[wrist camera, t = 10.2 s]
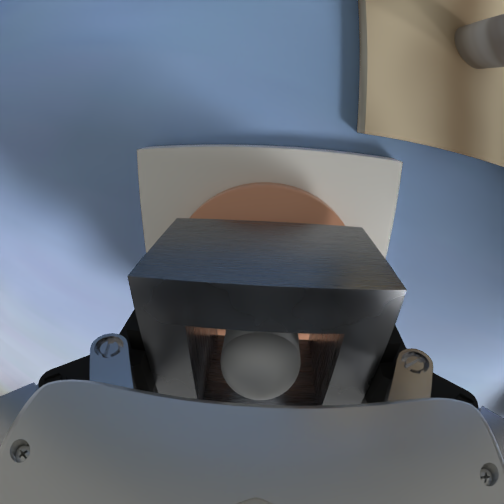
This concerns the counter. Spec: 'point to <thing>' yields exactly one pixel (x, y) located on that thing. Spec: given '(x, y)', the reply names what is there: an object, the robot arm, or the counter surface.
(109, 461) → the robot arm
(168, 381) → the collar
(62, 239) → the counter surface
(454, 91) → the rod stand
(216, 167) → the hub
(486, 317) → the counter surface
